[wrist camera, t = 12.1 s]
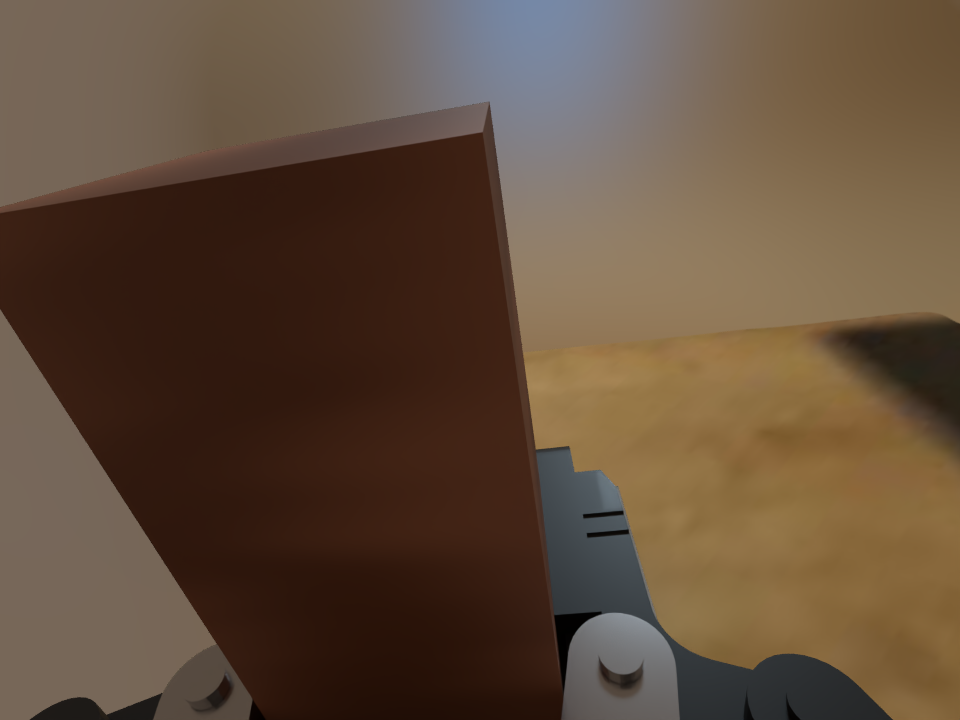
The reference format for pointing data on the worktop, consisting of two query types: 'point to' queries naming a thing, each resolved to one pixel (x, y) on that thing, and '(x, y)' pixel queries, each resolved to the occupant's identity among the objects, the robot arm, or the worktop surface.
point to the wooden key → (314, 408)
